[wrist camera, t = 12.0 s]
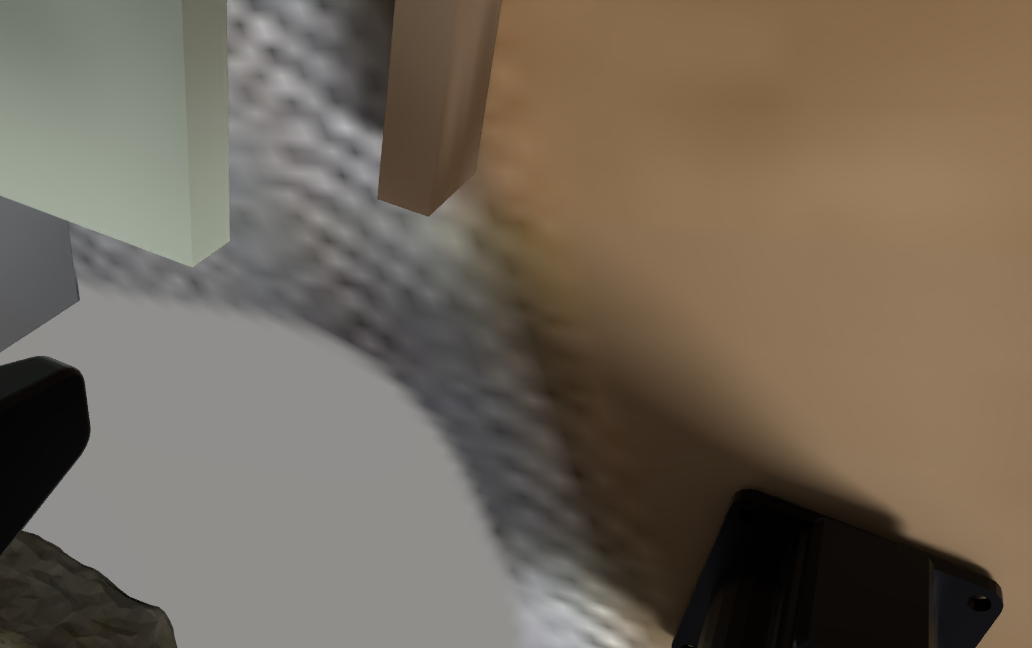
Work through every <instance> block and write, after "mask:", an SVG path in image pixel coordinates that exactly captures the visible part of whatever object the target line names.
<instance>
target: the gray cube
mask: <svg viewBox="0 0 1032 648" xmlns="http://www.w3.org/2000/svg"><path fill="white" fill-rule="evenodd" d="M78 301H80V297H79V290H78V281H77V279H76V278H75V274H74V266H73V258H72V251H71V243H70V236H69V228H68V221H67V220H64V219H61V218H59V217H56V216H53V215H51V214H48V213H45V212H43V211H40V210H37V209H35V208H32V207H29V206H27V205H24V204H21V203H19V202H16V201H13V200H11V199H8V198H5V197H3V196H0V352H1V351H3V350H5V349H6V348H7V347H9V346H11V345H12V344H14V343H15V342H17V341H18V340H20V339H21V338H23V337H24V336H26V335H27V334H29V333H31V332H32V331H34V330H35V329H37V328H38V327H40V326H41V325H43V324H44V323H46V322H47V321H49V320H50V319H52V318H53V317H55V316H57V315H58V314H60V313H61V312H62V311H64V310H66V309H67V308H69V307H70V306H72V305H73V304H75V303H76V302H78Z"/></svg>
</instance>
